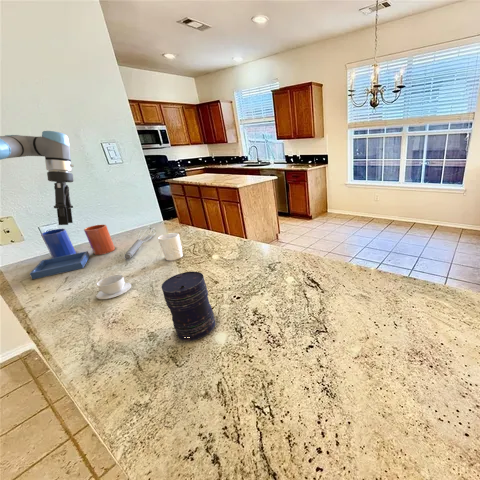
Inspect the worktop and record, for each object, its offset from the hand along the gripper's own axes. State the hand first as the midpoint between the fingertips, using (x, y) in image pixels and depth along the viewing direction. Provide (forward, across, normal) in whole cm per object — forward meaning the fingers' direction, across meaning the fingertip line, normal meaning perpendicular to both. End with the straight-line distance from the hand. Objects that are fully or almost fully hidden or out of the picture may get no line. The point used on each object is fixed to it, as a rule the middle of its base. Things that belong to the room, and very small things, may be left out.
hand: (66, 224), depth 110 cm
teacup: (+22, -39, -15) cm, 47 cm away
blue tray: (+18, 0, +2) cm, 18 cm away
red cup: (+14, +8, -11) cm, 19 cm away
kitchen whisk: (+12, +2, -26) cm, 29 cm away
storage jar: (+25, -78, -32) cm, 88 cm away
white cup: (+15, -24, -36) cm, 46 cm away
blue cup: (+16, +15, +3) cm, 22 cm away
